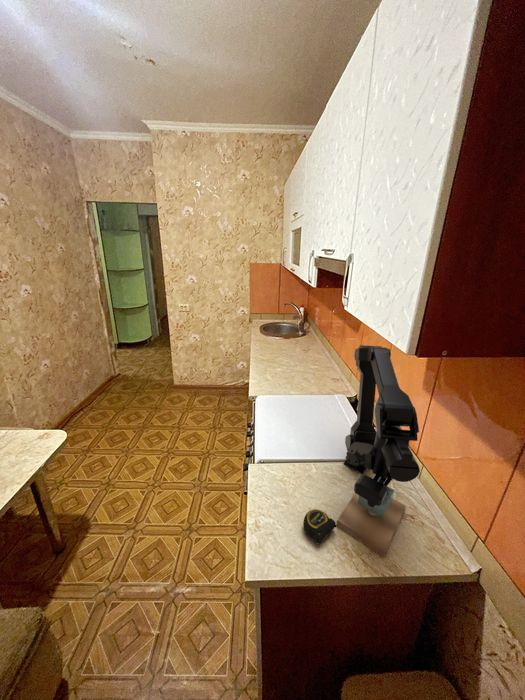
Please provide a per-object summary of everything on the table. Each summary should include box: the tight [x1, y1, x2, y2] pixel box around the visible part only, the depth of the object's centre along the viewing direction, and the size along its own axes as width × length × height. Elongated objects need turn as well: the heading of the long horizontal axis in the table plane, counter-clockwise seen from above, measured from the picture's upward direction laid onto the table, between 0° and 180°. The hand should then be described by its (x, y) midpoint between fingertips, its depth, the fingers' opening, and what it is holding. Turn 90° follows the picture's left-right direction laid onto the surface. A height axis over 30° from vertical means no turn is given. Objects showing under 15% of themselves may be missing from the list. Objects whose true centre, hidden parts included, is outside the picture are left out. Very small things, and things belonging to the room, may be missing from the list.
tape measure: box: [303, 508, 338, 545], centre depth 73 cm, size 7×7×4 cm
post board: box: [336, 492, 407, 558], centre depth 76 cm, size 16×12×9 cm
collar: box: [358, 485, 395, 519], centre depth 74 cm, size 6×6×4 cm
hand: (376, 496), depth 74 cm, fingers open, 7 cm apart
